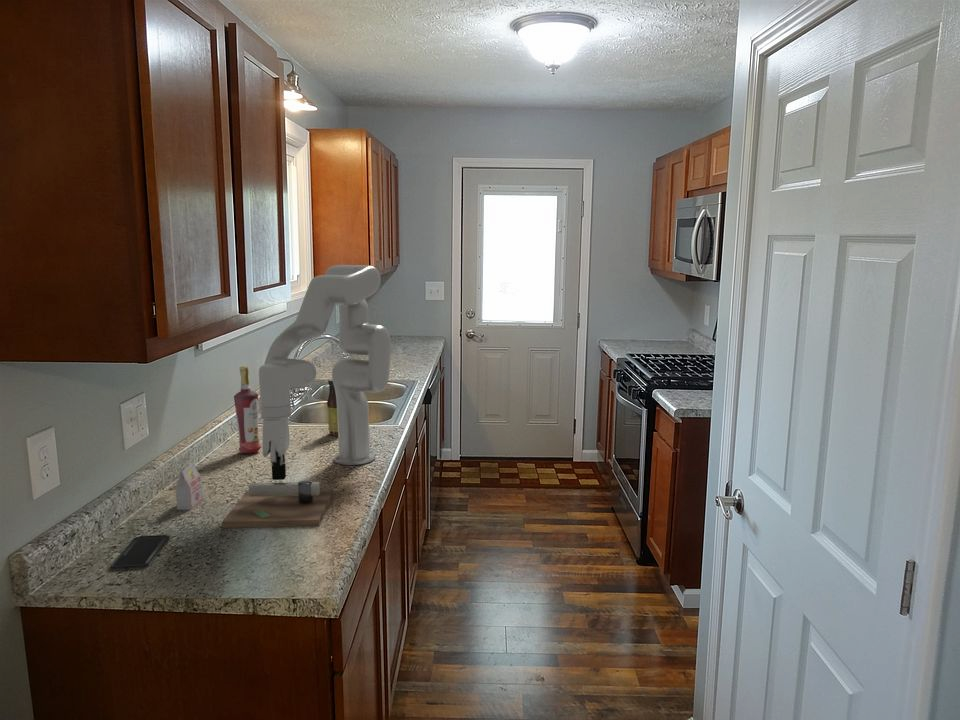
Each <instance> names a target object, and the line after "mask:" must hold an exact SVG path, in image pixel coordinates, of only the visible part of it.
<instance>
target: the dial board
mask: <svg viewBox="0 0 960 720" xmlns="http://www.w3.org/2000/svg"><path fill="white" fill-rule="evenodd" d="M246 490H247V491H245V492H244V494H243V495H242V497H241V498H240V499H239V500H238V501H237V503H236V504H235V505H234V506H233V508H232V509H231V510H230V511H229V512H228V513H227V515H226V516H225V517H224V519H223V520H222V521H221V526H222V527H221V528H223V529H224V528H226V529H227V528H228V529H229V528H230V529H231V528H232V529H233V528H268V527H269V528H273V527H277V528H279V527H311V526H316V527H317V526H320V525H321V523H322V521H323V518H324V516H325V514H326V512H327V510H328V508H329V505H330V503H331V501H332V499H333V497H334V496H335V495H334V494H335V487H320V494H319V495H313V501H311V502H309V503H300V502H299V498H298V496H262V497H249V489H246Z"/></svg>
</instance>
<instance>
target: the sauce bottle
mask: <svg viewBox="0 0 960 720" xmlns="http://www.w3.org/2000/svg"><path fill="white" fill-rule="evenodd" d="M328 388H329V389H328V390H329V393H328V397H327V401H326V409H327V423H328V424H327V425H328V431H329V434H330V435H331V436H335V437H338V419H337V400H336V392H335V388H334V384H333V380H332V378H329V379H328Z"/></svg>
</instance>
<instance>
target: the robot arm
mask: <svg viewBox="0 0 960 720" xmlns="http://www.w3.org/2000/svg"><path fill="white" fill-rule="evenodd" d="M381 278H382V277H381V273H380V271H379V270H378V269H377V268H376V267H374V266H372V265H365V264H364V265H363V264H360V265H358V264H357V265H356V264H354V265H353V264H336V265H333V266H332V265H331V266H330V267H329V268H327V269H326V270H325V274H321V275H317V276H316V275H315V277H313V278H312V279H311V280H310V282H309V284H308V286H307V289H306V291H305V295H304V298H303V299H302V303H301V305H300V308H299V310H298V313H297V317H296V319H295V320H294V321H293V323H292V324H290V325H289V326H287V327H286V328H285V329H284V330H283V331H282V332H281V333H280V334H279V335H278V336H277V337H276V338H275V339H274V340H273V342H272V343H271V345H270V347H269V349H268V352H267V353H266V357H265V359H264V360H265V361H264V363H263V364H262V365H261V366H259V369H258V385H259V402H260V406H259V407H260V418H261V419H262V420H263V421H262V436H261V437H262V444H261V445H262V456H263V457H264V458H266V457H267V456H268V455H270V458H269V460H270V463H271V475H272V476H271V477H272V478H271V479H272V480H274V481H283V480H285V479H286V477H287V470H286V468H287V467H286V466H287V465H286V452H287V450H288V449H289V448H290V441H291V439H290V438H291V437H290V427H289V426H290V425H289V418H291V417H292V409H291V408H292V406H291V390H293V389H304V388H307V387H309V386H311V385H312V384H313V383H314V381H315V380H316V377H317V368H316V367H315V365H314V364H313V363H312V362H310V361H308V360H305V359H299V358H298V359H296V358H295V359H294V358H289V357H290V355H291V354H292V353H293V351H294V350H295V349H296V348H298V346H300V345H301V344H304V343H306V342H308V341H311V340H313V339H316V338H317V337H320V336H321V335H323V334H324V333H325V332H326V331H327V328H328V325H329V322H330V319H331V316H332V313H333V311H334V308H335V307H336V306H339V309H340V310H339V311H340V312H339V315H340V316H339V334H338V338H339V339H338V346H339V348H340V351H342V353H344V354H348V355H354V356H355V355H356V356H365V357H366V356H367V357H368V360H366V359H355V358H344V359H341V360H338V361H337V362H336V363H335V364H334V365H333V368H332V370H331V379H332V380H333V384H334V388H335V392H336V400H337V419H338V436H337V437H338V439H337V440H338V453H336V454H335V455H334V456H333V459H334V462H335V463H337V464H339V465H343V466H357V465H358V466H359V465H364V464H365V465H366V464H368V463H370V462H373V461H374V460H375V458H376V453H375V452H374V451H372V450H371V444H370V442H371V441H370V438H371V437H370V417H369V416H370V415H369V410H370V409H369V401H368V398H367V397H366V394H365V393H381V392H383V391H385V389H386V387H387V386H388V383H389V378H390V365H391V364H390V363H391V348H392V347H391V345H392V344H391V343H392V341H391V336H390V333H389V330H388V329H387V327H385V326H383V325H380V324H373V323H371V324H370V322H369V315H370V314H369V313H370V311H369V304H368V302H367V300H366V299H368V298H369V297H371V296H373V295H374V294H375V293H376V292H377V291H378V290H379V288H380V287H381V282H382V281H381V280H382V279H381Z"/></svg>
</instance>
